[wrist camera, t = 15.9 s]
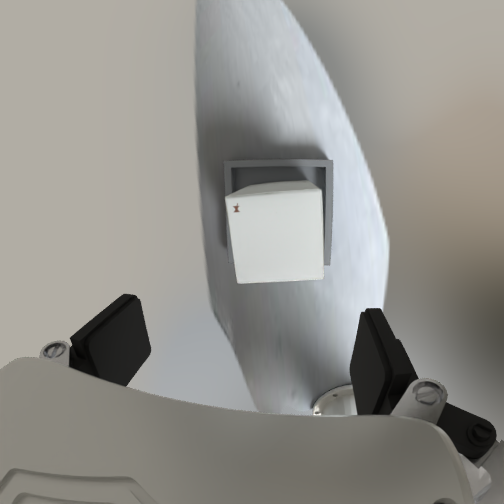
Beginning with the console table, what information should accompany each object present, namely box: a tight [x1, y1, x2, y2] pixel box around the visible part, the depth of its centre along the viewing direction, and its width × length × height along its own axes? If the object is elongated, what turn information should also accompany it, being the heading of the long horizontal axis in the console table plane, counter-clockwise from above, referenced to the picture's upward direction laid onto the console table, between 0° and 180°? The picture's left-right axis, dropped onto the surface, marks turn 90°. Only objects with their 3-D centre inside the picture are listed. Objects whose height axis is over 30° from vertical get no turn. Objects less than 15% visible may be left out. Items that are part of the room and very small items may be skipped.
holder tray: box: [224, 159, 333, 265], centre depth 32 cm, size 12×12×3 cm
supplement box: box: [225, 180, 324, 283], centre depth 27 cm, size 7×7×13 cm
